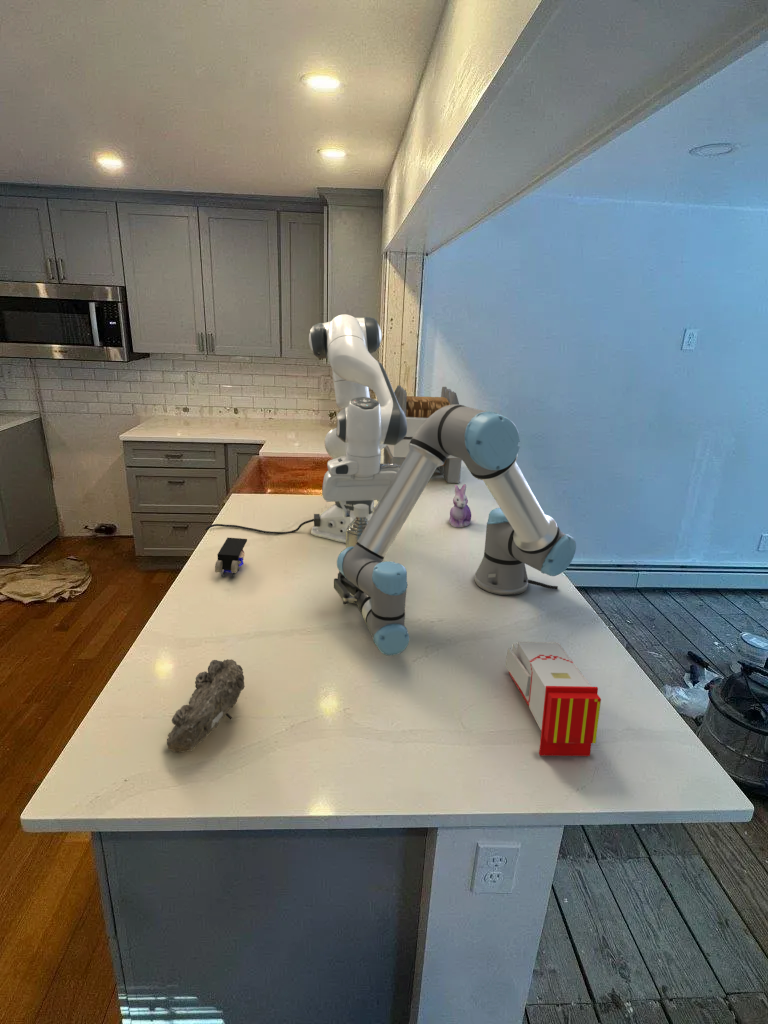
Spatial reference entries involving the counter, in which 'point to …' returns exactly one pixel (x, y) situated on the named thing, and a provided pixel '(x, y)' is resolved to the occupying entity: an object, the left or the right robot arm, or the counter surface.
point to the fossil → (206, 705)
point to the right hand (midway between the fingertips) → (355, 568)
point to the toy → (556, 697)
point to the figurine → (460, 508)
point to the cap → (361, 510)
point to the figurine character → (230, 556)
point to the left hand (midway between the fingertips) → (361, 515)
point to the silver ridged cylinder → (355, 533)
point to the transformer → (415, 417)
